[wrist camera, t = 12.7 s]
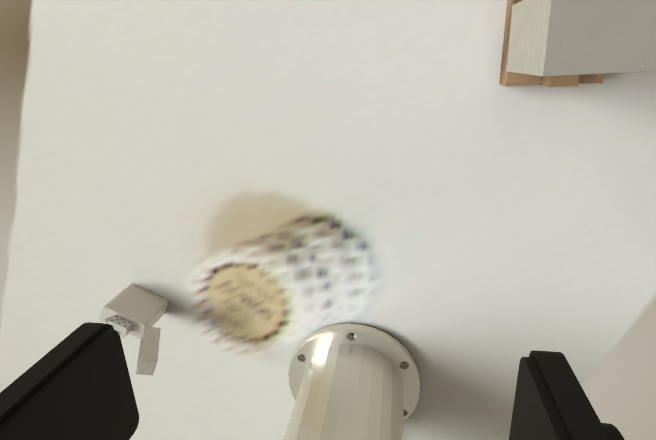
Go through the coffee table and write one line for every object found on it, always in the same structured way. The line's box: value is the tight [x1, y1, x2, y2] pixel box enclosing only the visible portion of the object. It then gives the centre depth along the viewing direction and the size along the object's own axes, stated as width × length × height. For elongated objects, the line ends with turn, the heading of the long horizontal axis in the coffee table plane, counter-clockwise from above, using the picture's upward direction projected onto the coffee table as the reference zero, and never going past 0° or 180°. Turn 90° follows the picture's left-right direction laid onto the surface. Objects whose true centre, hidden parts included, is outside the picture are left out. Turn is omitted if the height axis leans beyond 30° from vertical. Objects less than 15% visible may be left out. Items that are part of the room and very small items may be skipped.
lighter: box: [100, 284, 169, 375], centre depth 39 cm, size 7×2×8 cm, turn 67°
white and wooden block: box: [507, 0, 656, 76], centre depth 24 cm, size 5×6×8 cm
